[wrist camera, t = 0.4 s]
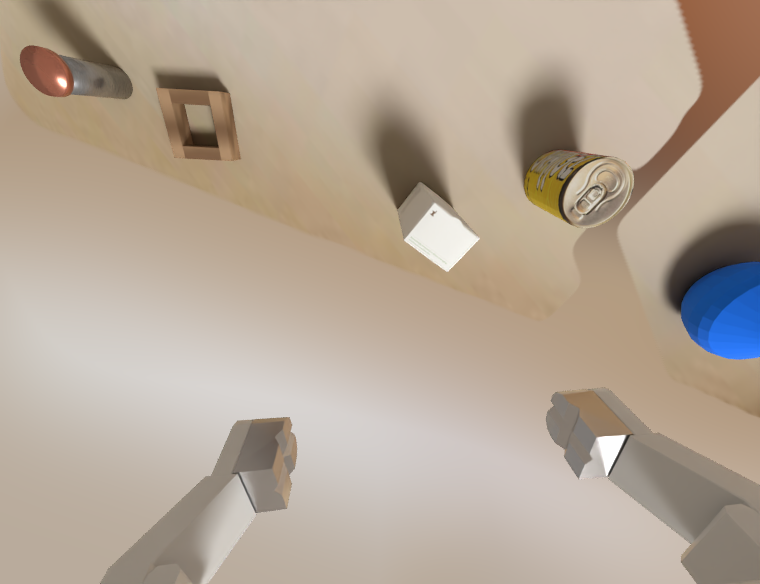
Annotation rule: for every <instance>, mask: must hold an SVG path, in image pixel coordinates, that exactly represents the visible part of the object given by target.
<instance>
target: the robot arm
mask: <svg viewBox="0 0 760 584" xmlns="http://www.w3.org/2000/svg"><path fill="white" fill-rule="evenodd" d="M551 402H552V403H553V405H554V406H553V407H552V408H551V409H550V410H548V412H547V416H546V422H547V428H548V431H549V433H550V435H551V437H552V439H553V440H554V442H555V443H556V444H557V445H559V446H560V447H562V448H564V449H565V453H564V457H565V459H566V460H567V462H568V464H569V465H570V467H571V468H572V470H573V471H574V473H575V474H576V476H577V477H578V479H588V478H602V477H609V478H608V479H609V480H610V481H612V482H613V483H614V484H615V485H617V486H618V487H619V488H620V489H622V490H623V491H624V492H625V493H627V494H628V495H629V496H631V497H632V498H633V499H634V500H636V501H637V502H638V503H640V504H641V505H642V506H643V507H645V508H646V509H647V510H648V511H650V512H651V513H652V514H653V515H655V516H656V517H657V518H658V519H660V520H661V521H662V522H664V523H665V524H666V525H667V526H669V527H670V528H671V529H672V530H674V531H675V532H676V533H678V534H679V535H680V536H681V537H683V538H684V539H685V540H686V541H688V542H689V543H690V544H691V545H690V546H689V548H687V550H686V551H685V552H684V553H683V554H682V556H681V563H682V564H683V566H684V567H685V568H686V570H687V571H688V572H689V574H690V575H691V576H692V578H693V579H694V580H695V582H696V583H697V584H760V485H759V484H757V483H755V482H753V481H751V480H749V479H747V478H745V477H743V476H741V475H740V474H738V473H736V472H734V471H732V470H730V469H728V468H726V467H724V466H722V465H720V464H718V463H716V462H714V461H713V460H710V459H709V458H707V457H705V456H703V455H701V454H699V453H697V452H695V451H693V450H691V449H689V448H687V447H685V446H683V445H682V444H679V443H678V442H676V441H674V440H672V439H670V438H668V437H666V436H664V435H662V434H660V433H653V432H652V431H651V430H650V429H649V428H648V427H647V426H646V425H645V424H644V423H643V422H642V421H641V420H640V419H639V418H638V417H637V416H636V415H635V414H634V413H633V412H632V411H631V410H630V409H629V408H628V407H627V406H626V405H625V404H624V403H623V402H622V401H621V400H620V399H619V398H618V397H617V396H616V395H615V394H614V393H613V392H612V391H611V390H609V389H607V388H594V389H581V390H572V391H562V392H556V393H555V394H553V395H552V399H551ZM291 427H292V424H291V420H290V417H283V418H269V419H255V420H241V421H237V422H236V423H235V424H234V426H233V427H232V429H231V431H230V434H229V436H228V438H227V441H226V443H225V445H224V447H223V450H222V452H221V454H220V457H219V459H218V461H217V464H216V466H215V468H214V471H213V473H212V475H211V476H207V477H205V478H204V479H203V480H201V481H200V482H199V483H198V484H197V485H196V486H195V487H194V488H193V489H192V490H191V491H190V492H189V493H188V494H187V495H186V496H185V497H184V498H182V500H181V501H179V502H178V503H177V504H176V505H175V506H174V507H173V508H172V509H171V510H170V511H169V512H168V513H167V514H166V515H165V516H163V518H161V519H160V520H159V521H158V522H157V523H156V524H155V525H154V526H153V527H152V528H151V529H150V530H149V531H148V532H147V533H146V534H145V535H143V536H142V537H141V538H140V539H139V540H138V541H137V542H136V543H135V544H134V545H133V546H132V547H131V548H130V549H129V550H128V551H127V552H126V553H125V554H124V555H123V556H121V557H120V558H119V559H118V560H117V561H116V562H115V563H114V564H113V565H112V566H111V567H110V568H109V569H108V571H107V572H106V574H105V576H104V578H103V579H102V581H101V583H100V584H208V582H209V581H210V580H211V578H212V577H213V575H214V574H215V573H216V571H217V570H218V568H219V567H220V565H221V564H222V563H223V561H224V560H225V558H226V557H227V556H228V554H229V553H230V551H231V550H232V548H233V547H234V546H235V544H236V543H237V541H238V540H239V539H240V537H241V536H242V534H243V533H244V531H245V530H246V529H247V527H248V526H249V524H250V523H251V522H252V520H253V519H254V517H255V516H256V513H258V512H266V511H274V510H281V509H287V506H288V500H289V496H290V491H291V485H292V483H291V480H290V476H289V475H290V473H291V472H292V471H293V470H294V469H295V464H296V457H297V442H296V437H295V435H294V434H293V433H292V432H291Z"/></svg>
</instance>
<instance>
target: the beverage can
mask: <svg viewBox="0 0 760 584" xmlns="http://www.w3.org/2000/svg"><path fill="white" fill-rule="evenodd" d="M633 186H634V175H633V172H632V170H631V167H630V166H629V165H628V164H627V163H626V162H625V161H623V160H621V159H619V158H616V157H609V156H603V155H596V154H589V153H582V152H575V151H569V150H554V151H550V152H548V153H546V154H543V155H542V156H541V157H539V158H538V159H537V160H536V161H535V162H534V163H533V164H532V165H531V167H530V169H529V170H528V172H527V174H526V178H525V181H524V190H525V194H526V196H527V198H528V199H529V201H531V202H532V203H533V204H534V205H536V206H538V207H540V208H542V209H543V210H545V211H547V212H549V213H551V214H553V215H554V216H556V217H558V218H560V219H562V220H563V221H565V222H567V223H569V224H571V225H573V226H576V227H579V228H590V227H595V226H598V225H601V224H604V223H605V222H607V221H609V220H610V219H612V218H613V217H615V216H616V215H617V214H618V213H619V212H620V211H621V210H622V209H623V207H624V206H625V205H626V204H627V202H628V200H629V198H630V196H631V194H632V191H633Z"/></svg>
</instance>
